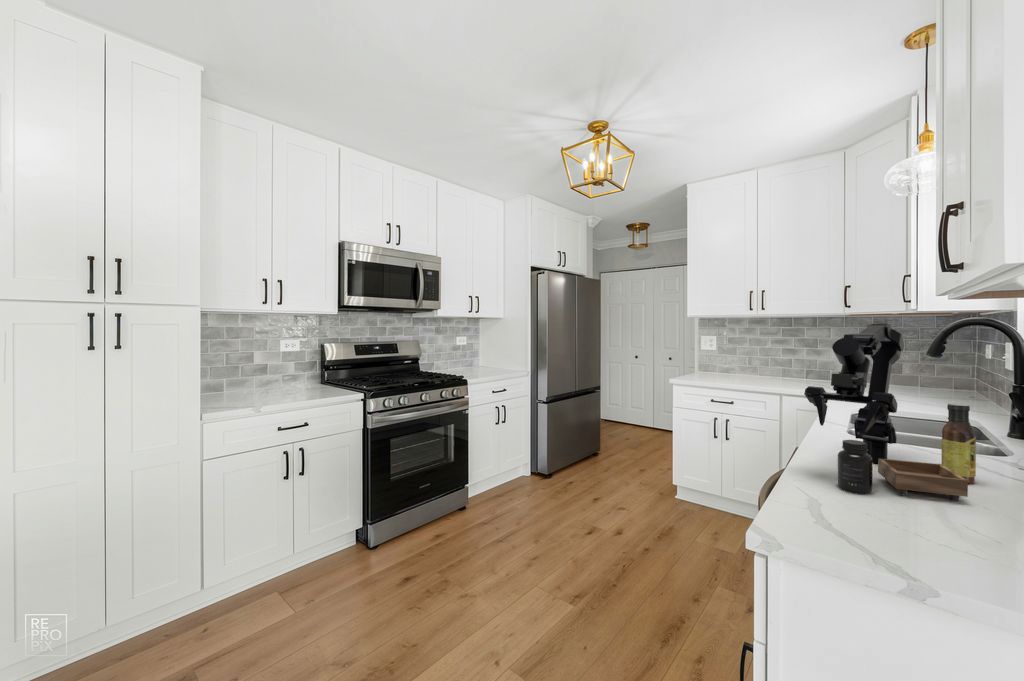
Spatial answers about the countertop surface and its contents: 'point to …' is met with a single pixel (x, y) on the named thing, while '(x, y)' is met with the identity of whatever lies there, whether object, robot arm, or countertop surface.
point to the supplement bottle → (855, 467)
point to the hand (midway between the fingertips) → (842, 428)
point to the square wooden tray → (923, 478)
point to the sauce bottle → (959, 442)
